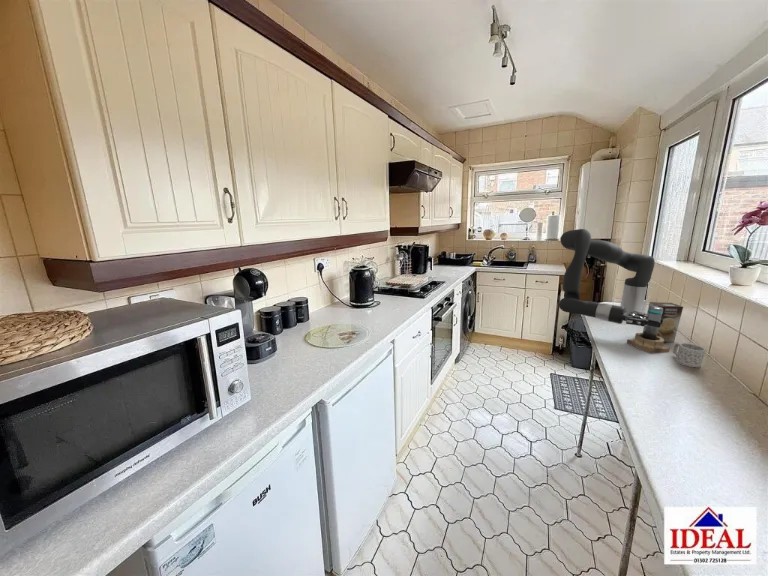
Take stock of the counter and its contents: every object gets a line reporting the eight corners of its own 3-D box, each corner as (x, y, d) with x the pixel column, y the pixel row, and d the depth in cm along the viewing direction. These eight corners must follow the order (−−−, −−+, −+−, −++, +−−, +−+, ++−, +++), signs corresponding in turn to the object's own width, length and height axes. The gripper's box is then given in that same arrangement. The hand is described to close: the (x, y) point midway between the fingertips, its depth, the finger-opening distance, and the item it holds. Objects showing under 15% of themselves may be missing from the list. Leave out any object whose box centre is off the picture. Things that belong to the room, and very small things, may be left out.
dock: (645, 341, 130) (647, 331, 129) (669, 351, 120) (671, 341, 119) (626, 342, 129) (628, 333, 128) (649, 353, 119) (651, 342, 118)
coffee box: (652, 341, 130) (660, 306, 126) (641, 335, 136) (648, 301, 132) (675, 342, 129) (683, 306, 125) (663, 336, 135) (671, 302, 131)
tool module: (648, 337, 126) (655, 305, 123) (658, 341, 122) (666, 309, 118) (638, 337, 126) (645, 306, 122) (648, 342, 121) (656, 309, 118)
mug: (706, 368, 108) (711, 351, 106) (686, 367, 108) (691, 350, 107) (681, 355, 118) (685, 339, 116) (663, 354, 118) (667, 339, 116)
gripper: (607, 308, 127) (661, 318, 114) (615, 301, 136) (666, 310, 123) (604, 324, 129) (656, 337, 116) (612, 317, 138) (662, 327, 125)
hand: (661, 323), depth 120 cm, fingers closed on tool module, 4 cm apart
